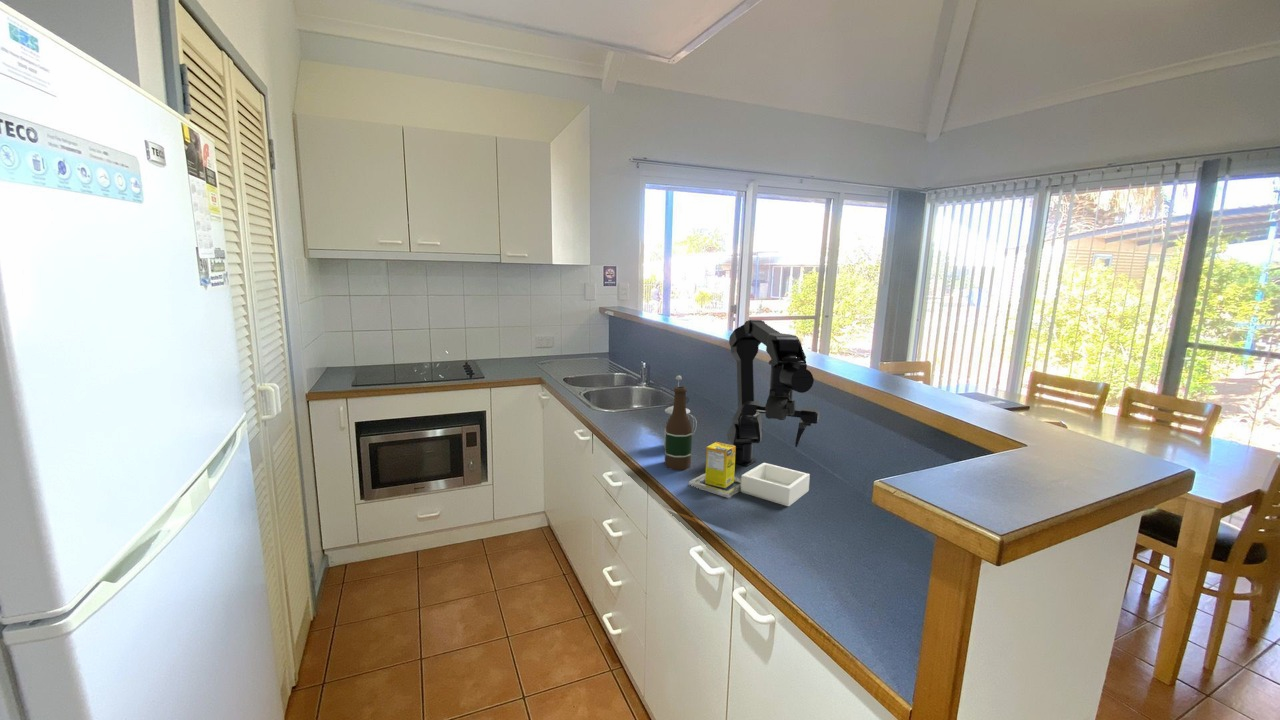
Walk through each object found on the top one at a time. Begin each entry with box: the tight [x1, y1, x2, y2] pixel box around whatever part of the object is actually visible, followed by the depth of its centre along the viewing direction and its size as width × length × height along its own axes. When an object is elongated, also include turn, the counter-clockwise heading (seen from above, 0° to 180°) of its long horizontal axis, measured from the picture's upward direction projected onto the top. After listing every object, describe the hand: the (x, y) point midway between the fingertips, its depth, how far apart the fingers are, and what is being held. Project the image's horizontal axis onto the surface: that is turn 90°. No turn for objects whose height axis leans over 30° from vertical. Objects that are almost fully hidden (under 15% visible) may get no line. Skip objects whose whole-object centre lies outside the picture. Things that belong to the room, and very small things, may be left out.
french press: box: [663, 375, 698, 449], centre depth 161 cm, size 10×12×25 cm
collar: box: [688, 472, 742, 499], centre depth 136 cm, size 12×12×1 cm
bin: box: [740, 462, 811, 507], centre depth 133 cm, size 13×13×5 cm
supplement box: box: [704, 441, 736, 491], centre depth 135 cm, size 6×6×11 cm
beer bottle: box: [664, 386, 693, 471], centre depth 147 cm, size 8×8×24 cm
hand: (777, 444), depth 131 cm, fingers open, 9 cm apart
